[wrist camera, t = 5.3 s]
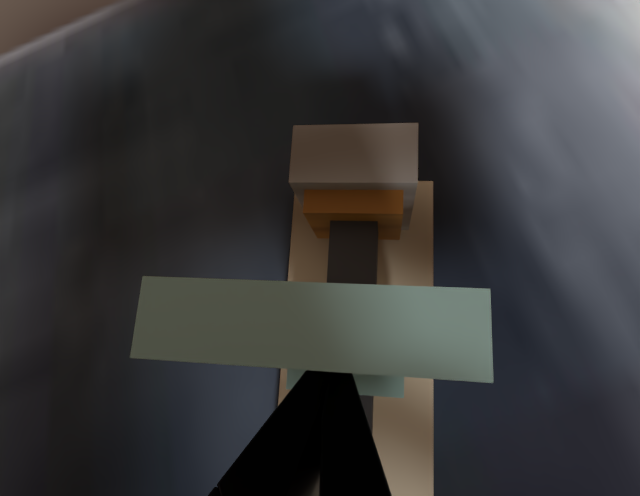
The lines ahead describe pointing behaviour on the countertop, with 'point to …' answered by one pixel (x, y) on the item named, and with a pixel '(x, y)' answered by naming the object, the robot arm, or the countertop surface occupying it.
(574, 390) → the countertop surface
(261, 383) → the countertop surface
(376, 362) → the grey-green notched block
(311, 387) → the robot arm
